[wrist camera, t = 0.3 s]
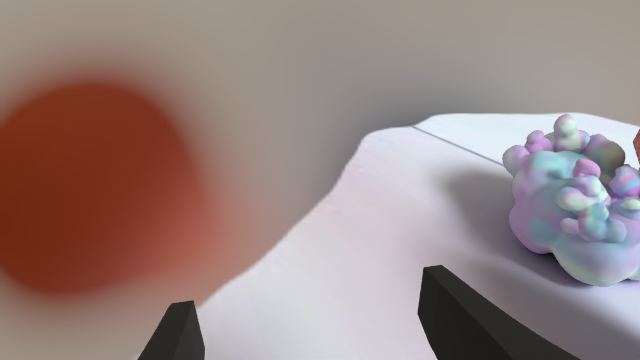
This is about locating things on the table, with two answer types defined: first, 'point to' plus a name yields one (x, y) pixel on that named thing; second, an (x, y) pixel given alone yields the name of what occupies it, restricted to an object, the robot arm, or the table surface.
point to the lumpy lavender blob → (577, 202)
